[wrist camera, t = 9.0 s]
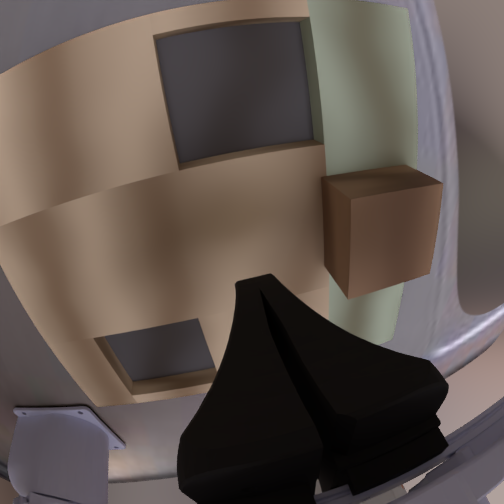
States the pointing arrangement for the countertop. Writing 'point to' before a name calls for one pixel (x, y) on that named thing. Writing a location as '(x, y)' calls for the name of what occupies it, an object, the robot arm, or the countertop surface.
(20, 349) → the countertop surface
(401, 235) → the block
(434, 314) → the countertop surface
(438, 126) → the countertop surface
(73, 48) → the board
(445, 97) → the countertop surface
